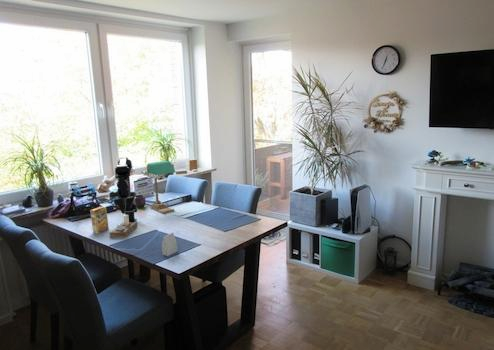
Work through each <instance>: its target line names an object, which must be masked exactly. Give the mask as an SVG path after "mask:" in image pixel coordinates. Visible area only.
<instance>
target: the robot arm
mask: <svg viewBox="0 0 494 350" xmlns="http://www.w3.org/2000/svg"><path fill="white" fill-rule="evenodd" d="M132 169H133V163H132V160H131V159H129V158H128V157H126V156H125V157H119V159H118V161H117V165H116V167H115V168H114V175H115V178H114V179H117V183H116V187H117V190H116V191H110V192H109V198H111V200H113V199H114V200H113V204H114V205H116V206H117V207H118V208H119V209H120V212H121V213H122V214H123V215H128V216H129V223H135V222H136V221H137V220H138V219H137V218H136V217H135V213H137V212H138V207H137V204H136V203H135V198H136V197H137V194H136V192H135V191H131V182H130V181H131V179H130V176H131V173H132Z"/></svg>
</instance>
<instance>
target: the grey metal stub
mask: <svg viewBox="0 0 494 350" xmlns="http://www.w3.org/2000/svg"><path fill="white" fill-rule="evenodd" d="M116 227H117V228H118V231H123V225H122V223H119V224H117V225H116Z"/></svg>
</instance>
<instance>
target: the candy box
mask: <svg viewBox="0 0 494 350" xmlns="http://www.w3.org/2000/svg"><path fill="white" fill-rule="evenodd" d="M89 212H90V219H91V229H92V233H94V234H100V233H102V232H105V231H107V230H109V227H110V226H109V221H108V212H107V207H106V206H104V205H103V206H101V205H100V206H98V207H95V208H92V209H90V211H89Z"/></svg>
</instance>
